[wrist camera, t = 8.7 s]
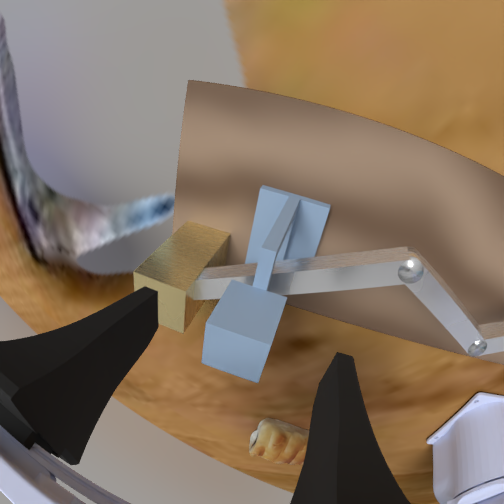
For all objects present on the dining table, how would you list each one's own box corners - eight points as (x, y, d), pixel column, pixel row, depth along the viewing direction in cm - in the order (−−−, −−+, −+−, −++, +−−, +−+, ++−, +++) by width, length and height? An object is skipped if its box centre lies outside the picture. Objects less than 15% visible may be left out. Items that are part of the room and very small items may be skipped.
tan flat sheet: (529, 367, 19) (531, 370, 18) (174, 261, 24) (170, 265, 23) (607, 245, 12) (610, 249, 12) (192, 80, 17) (188, 80, 16)
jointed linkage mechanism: (580, 308, 14) (611, 362, 9) (186, 266, 23) (139, 323, 17) (605, 249, 12) (646, 298, 6) (176, 194, 20) (115, 239, 15)
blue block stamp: (331, 203, 18) (309, 312, 10) (302, 288, 21) (267, 411, 13) (263, 183, 18) (188, 272, 10) (245, 270, 22) (182, 380, 14)
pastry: (344, 435, 29) (340, 465, 26) (321, 455, 33) (315, 481, 30) (263, 411, 31) (253, 441, 27) (249, 435, 34) (240, 460, 31)
